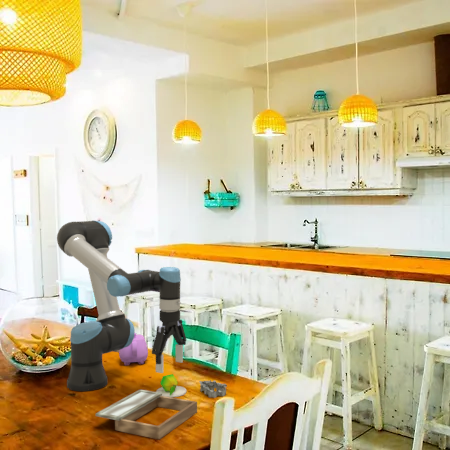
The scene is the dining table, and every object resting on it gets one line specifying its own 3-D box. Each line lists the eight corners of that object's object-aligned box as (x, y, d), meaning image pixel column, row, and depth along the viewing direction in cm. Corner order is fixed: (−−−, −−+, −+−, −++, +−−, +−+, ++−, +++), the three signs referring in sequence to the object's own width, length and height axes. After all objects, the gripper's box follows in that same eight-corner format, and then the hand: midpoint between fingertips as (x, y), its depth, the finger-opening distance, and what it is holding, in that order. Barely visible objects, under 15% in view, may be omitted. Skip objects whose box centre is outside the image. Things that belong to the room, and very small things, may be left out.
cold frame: (95, 427, 170) (95, 413, 170) (140, 401, 192) (140, 389, 192) (158, 440, 160) (158, 425, 160) (197, 411, 182) (197, 398, 182)
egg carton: (228, 396, 197) (228, 385, 197) (209, 399, 194) (208, 388, 194) (216, 387, 207) (216, 376, 207) (198, 390, 204) (198, 379, 204)
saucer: (150, 394, 199) (150, 393, 198) (166, 385, 208) (166, 384, 208) (176, 399, 194) (176, 397, 194) (191, 389, 204) (191, 388, 204)
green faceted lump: (163, 368, 204) (175, 374, 196) (175, 377, 206) (187, 383, 199) (152, 385, 201) (164, 391, 194) (164, 393, 204) (176, 400, 196)
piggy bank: (150, 367, 233) (149, 337, 232) (120, 369, 230) (119, 339, 229) (145, 354, 252) (145, 327, 252) (118, 356, 249) (117, 329, 249)
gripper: (160, 317, 187) (159, 378, 188) (195, 304, 209) (195, 359, 211) (141, 315, 190) (141, 375, 191) (178, 302, 213) (178, 356, 214)
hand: (169, 367), depth 201 cm, fingers open, 13 cm apart
